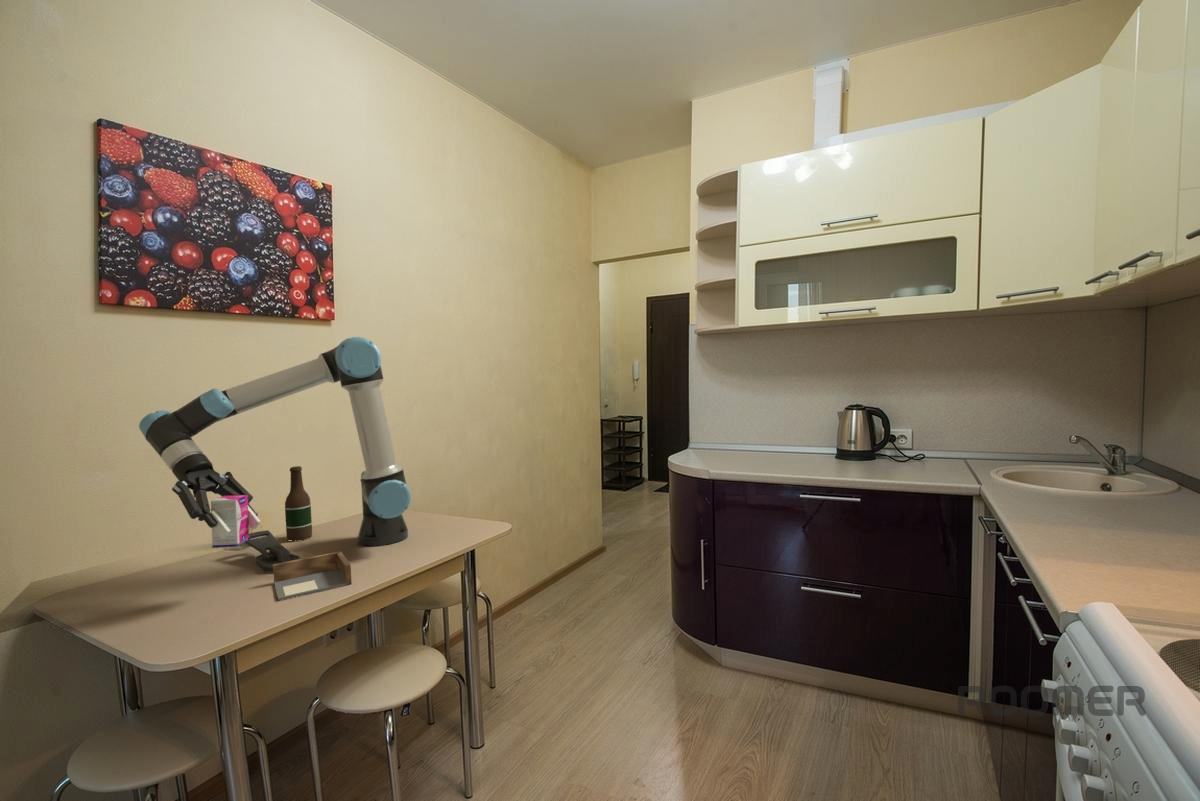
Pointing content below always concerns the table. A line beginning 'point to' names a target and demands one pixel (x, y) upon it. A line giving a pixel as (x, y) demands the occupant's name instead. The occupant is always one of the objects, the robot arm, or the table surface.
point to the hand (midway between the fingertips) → (242, 529)
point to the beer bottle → (298, 509)
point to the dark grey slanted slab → (275, 551)
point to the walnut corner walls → (313, 567)
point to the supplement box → (231, 520)
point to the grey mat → (309, 584)
